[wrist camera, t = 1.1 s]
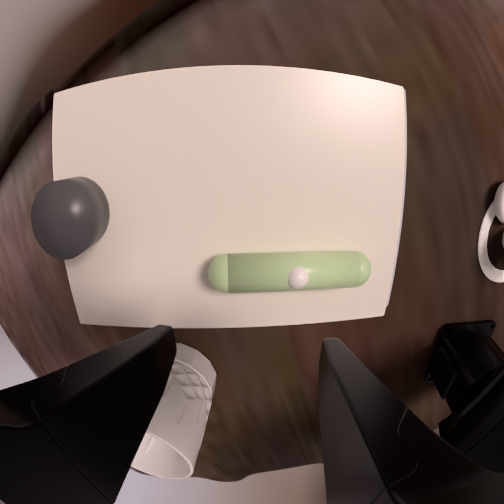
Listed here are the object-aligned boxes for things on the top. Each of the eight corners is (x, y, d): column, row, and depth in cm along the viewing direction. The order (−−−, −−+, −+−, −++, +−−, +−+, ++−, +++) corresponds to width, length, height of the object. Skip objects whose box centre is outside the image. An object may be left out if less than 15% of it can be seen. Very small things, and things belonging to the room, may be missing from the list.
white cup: (215, 337, 23) (174, 433, 13) (229, 401, 25) (204, 487, 16) (134, 332, 24) (74, 405, 14) (156, 393, 26) (117, 464, 17)
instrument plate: (393, 90, 12) (425, 80, 9) (377, 307, 16) (399, 333, 14) (59, 97, 11) (28, 89, 8) (82, 315, 15) (61, 342, 12)
